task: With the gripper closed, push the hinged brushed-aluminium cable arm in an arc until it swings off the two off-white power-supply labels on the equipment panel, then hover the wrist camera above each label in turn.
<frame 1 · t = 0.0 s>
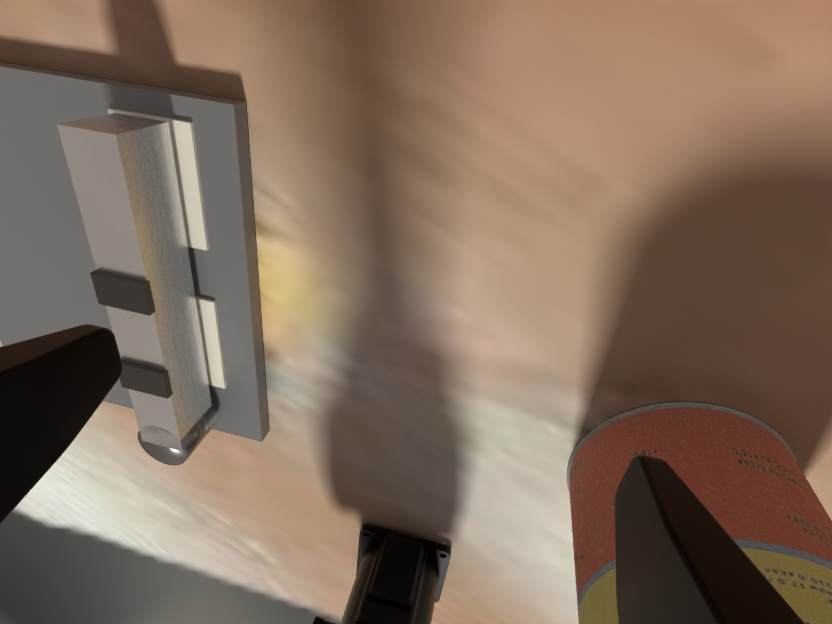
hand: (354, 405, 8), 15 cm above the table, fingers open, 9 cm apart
equipment panel: (112, 267, 27), on the table
canned food: (673, 478, 26), on the table
cable arm: (154, 318, 24), point 3 cm above the table, hinge at 0.0°
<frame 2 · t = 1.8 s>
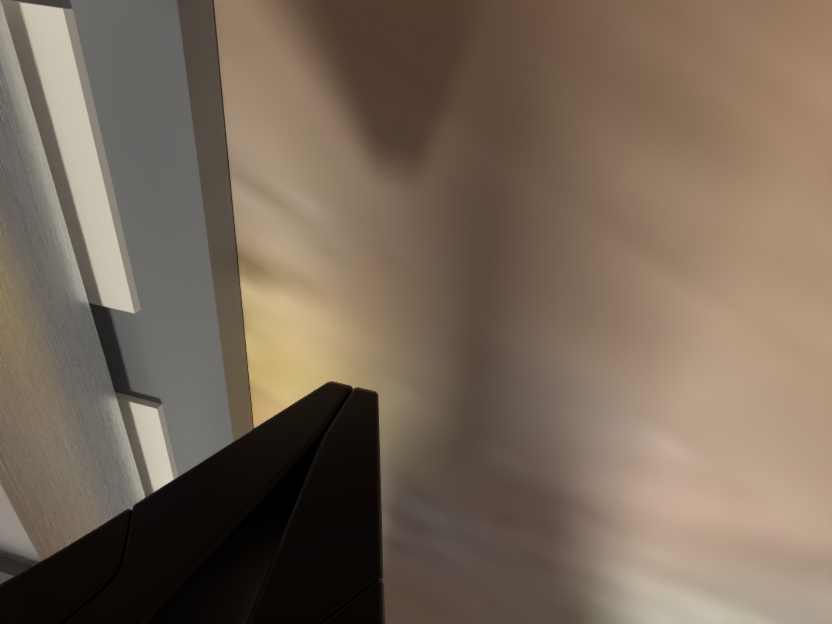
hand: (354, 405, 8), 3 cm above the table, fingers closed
cable arm: (24, 454, 11), point 3 cm above the table, hinge at 0.0°
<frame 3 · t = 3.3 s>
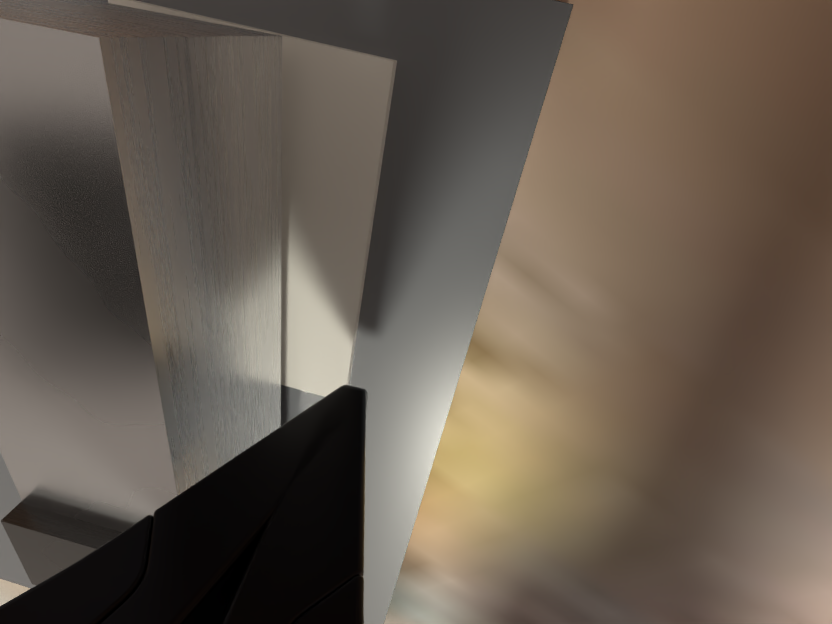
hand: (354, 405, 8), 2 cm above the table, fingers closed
equipment panel: (88, 384, 12), on the table
cable arm: (184, 560, 9), point 3 cm above the table, hinge at 2.0°, touching gripper
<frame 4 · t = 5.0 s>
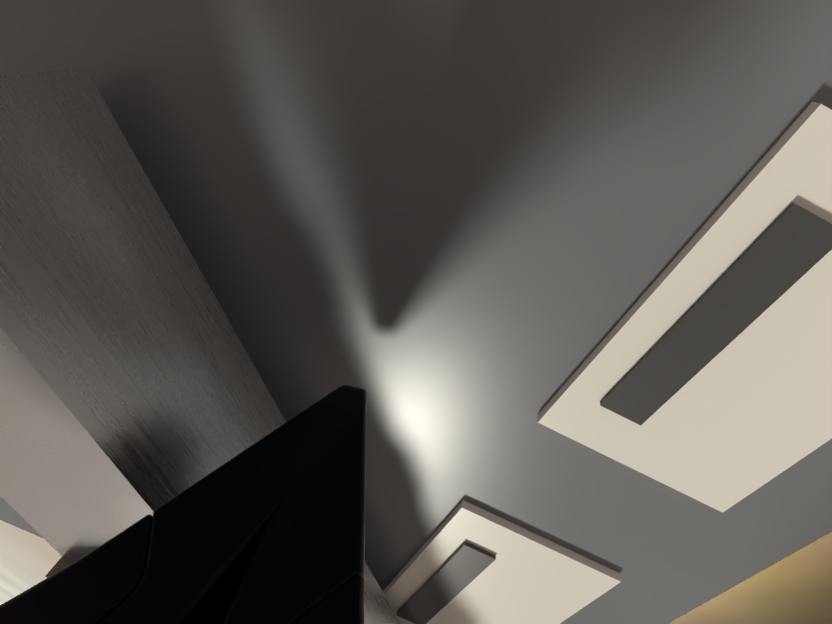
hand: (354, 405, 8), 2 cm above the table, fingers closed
equipment panel: (353, 410, 11), on the table
cable arm: (256, 587, 10), point 3 cm above the table, hinge at 42.5°, touching gripper
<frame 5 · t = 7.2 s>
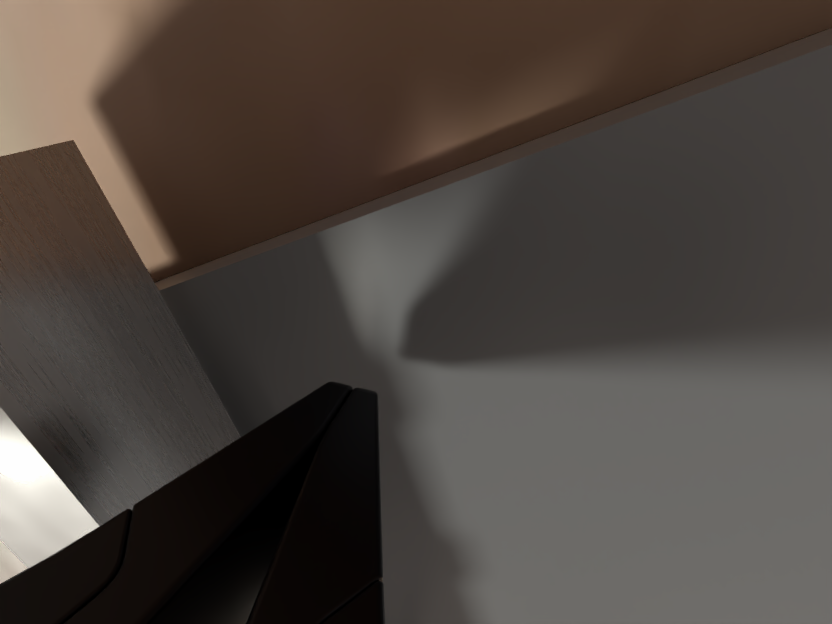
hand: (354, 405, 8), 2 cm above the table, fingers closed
equipment panel: (571, 531, 12), on the table
cable arm: (217, 605, 10), point 3 cm above the table, hinge at 82.7°
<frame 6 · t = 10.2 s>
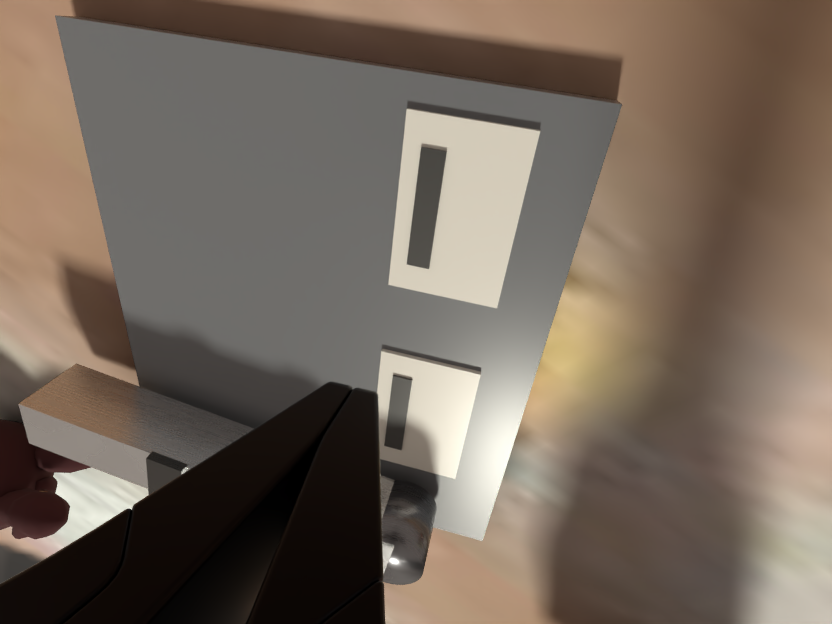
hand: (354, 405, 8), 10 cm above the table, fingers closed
icecream: (28, 433, 30), on the table
equipment panel: (321, 319, 20), on the table
cable arm: (234, 473, 22), point 3 cm above the table, hinge at 82.7°
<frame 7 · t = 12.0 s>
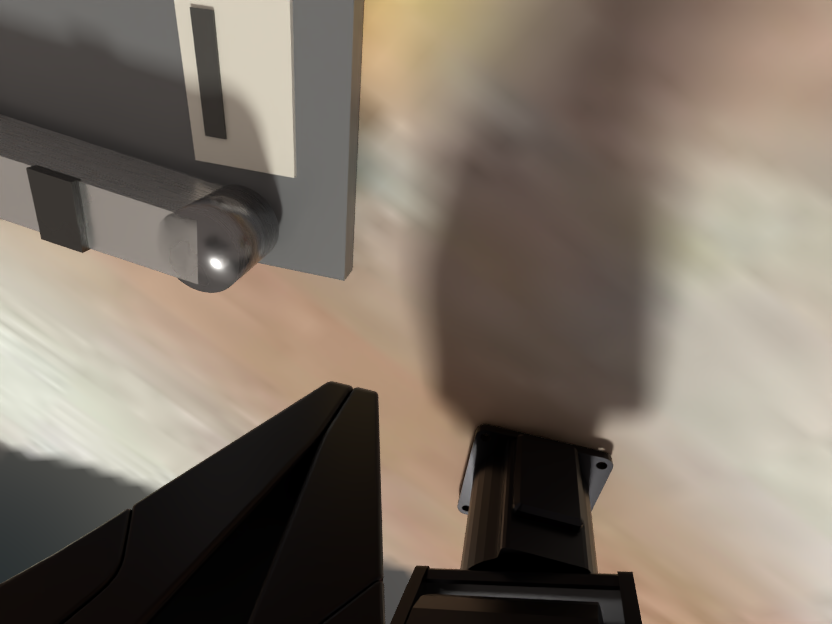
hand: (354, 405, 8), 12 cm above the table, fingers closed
cable arm: (25, 175, 18), point 3 cm above the table, hinge at 82.7°
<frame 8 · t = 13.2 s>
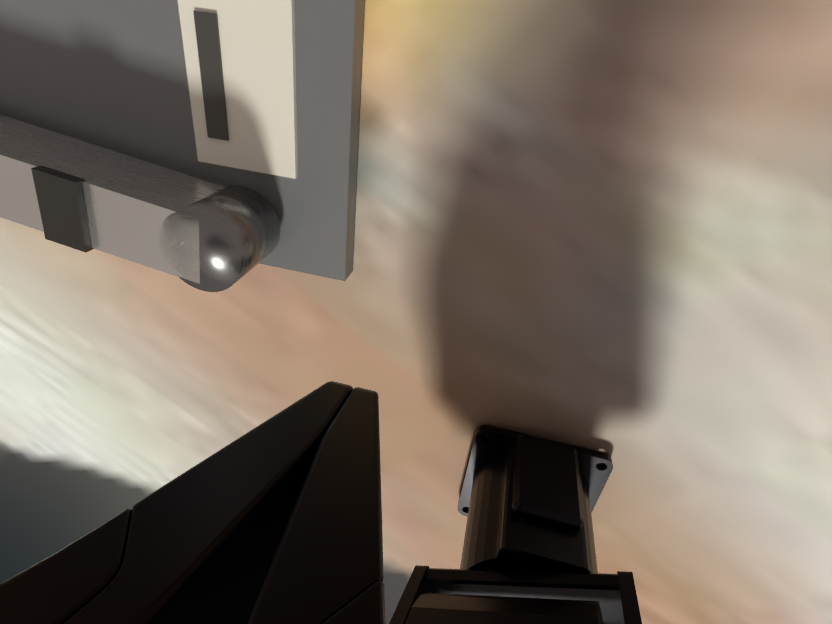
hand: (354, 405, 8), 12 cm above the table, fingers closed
cable arm: (30, 175, 18), point 3 cm above the table, hinge at 82.7°
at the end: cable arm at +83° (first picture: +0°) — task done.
